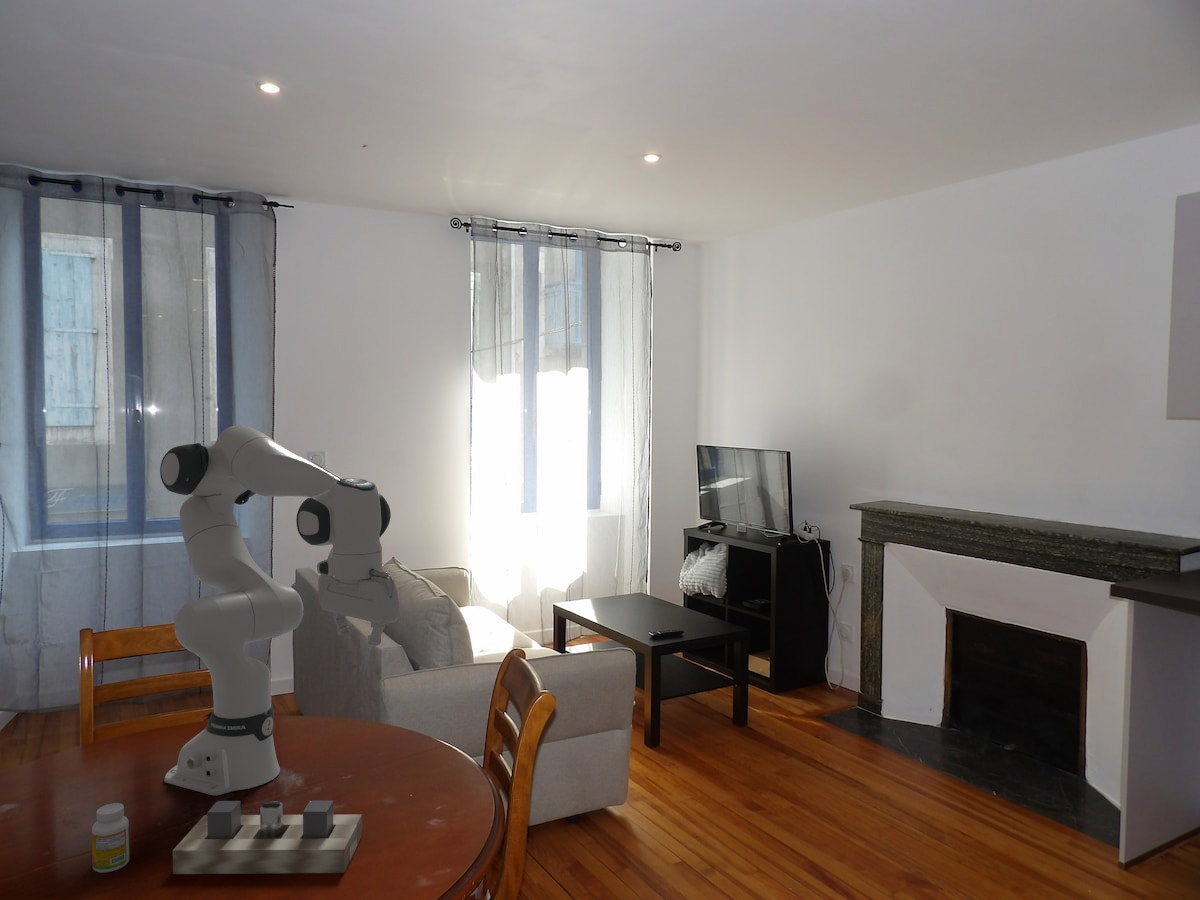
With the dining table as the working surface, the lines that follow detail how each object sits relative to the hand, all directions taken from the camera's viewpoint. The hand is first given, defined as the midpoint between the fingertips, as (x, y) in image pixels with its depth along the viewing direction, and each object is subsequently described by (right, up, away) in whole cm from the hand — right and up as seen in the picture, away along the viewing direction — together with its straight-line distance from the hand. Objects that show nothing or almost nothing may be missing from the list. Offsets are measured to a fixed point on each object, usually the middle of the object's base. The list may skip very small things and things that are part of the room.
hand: (359, 640), depth 157 cm
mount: (-12, -35, -11) cm, 38 cm away
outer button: (-4, -31, -11) cm, 33 cm away
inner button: (-20, -31, -12) cm, 38 cm away
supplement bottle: (-37, -35, -15) cm, 53 cm away
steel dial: (-12, -31, -11) cm, 35 cm away
